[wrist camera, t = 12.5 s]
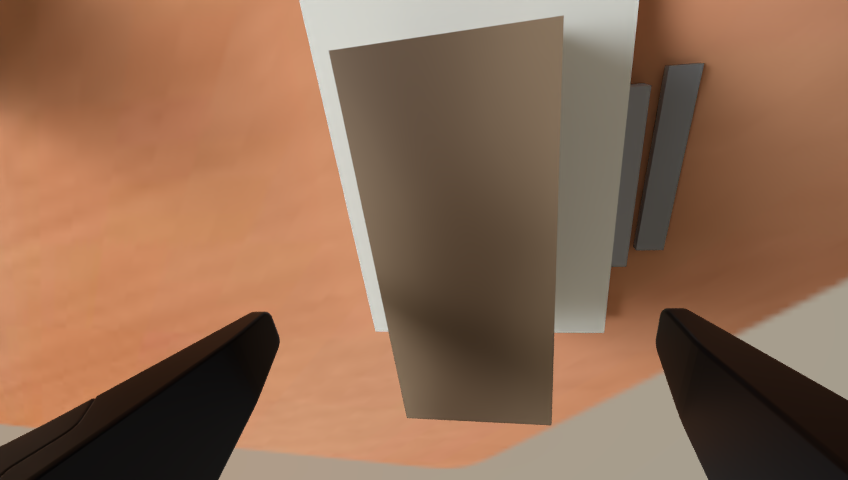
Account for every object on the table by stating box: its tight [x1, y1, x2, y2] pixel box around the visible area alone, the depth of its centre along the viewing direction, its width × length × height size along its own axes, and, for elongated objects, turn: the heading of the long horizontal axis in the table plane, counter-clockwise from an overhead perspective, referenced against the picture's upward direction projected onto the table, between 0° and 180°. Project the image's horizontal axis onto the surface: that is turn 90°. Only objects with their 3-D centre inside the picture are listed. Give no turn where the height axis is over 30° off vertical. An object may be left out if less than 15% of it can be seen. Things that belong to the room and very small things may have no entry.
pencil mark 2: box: [633, 63, 704, 250], centre depth 17 cm, size 1×8×1 cm, turn 5°
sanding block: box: [329, 15, 564, 425], centre depth 14 cm, size 5×12×7 cm, turn 7°
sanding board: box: [299, 0, 639, 333], centre depth 17 cm, size 12×16×2 cm
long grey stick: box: [611, 83, 651, 267], centre depth 17 cm, size 1×8×1 cm
